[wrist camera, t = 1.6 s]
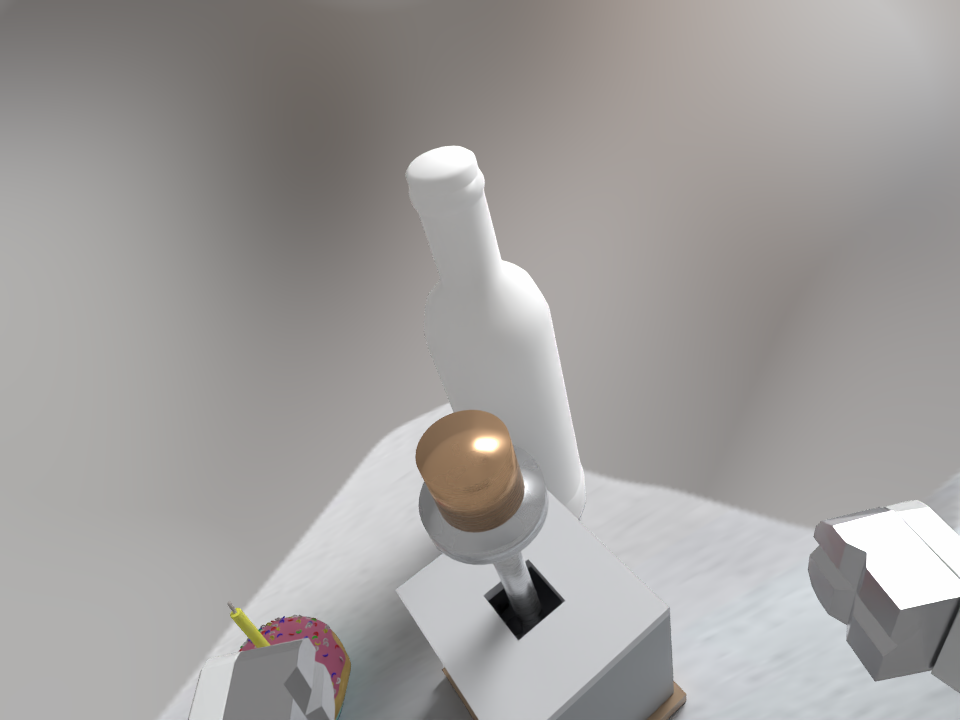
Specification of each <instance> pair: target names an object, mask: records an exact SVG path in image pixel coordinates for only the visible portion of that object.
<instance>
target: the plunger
mask: <svg viewBox="0 0 960 720" xmlns="http://www.w3.org/2000/svg"><path fill="white" fill-rule="evenodd" d="M416 464H417V467H418V469H419V471H420V473H421V475H422V477H423V479H424V481H425V482H424V484H423V486H422V489H421V492H420V497H419V513H420V517H421V520H422V523H423V525H424V527H425V529H426V531H427V532H428V534H429V536H430V538H431V540H432V541H433V543H434V544H435V546H436V547H437V548H438V549H439V550H440V551H441V552H442V553H444V554H445V555H446V556H448V557H450V558H451V559H453V560H456V561H458V562H462V563H466V564H473V565H485V564H494V567H495V569H496V571H497V573H498V576H499V578H500V580H501V583H502V585H503V587H504V589H503V590H501V591H500V592H499V593H498V594H496V595H495V596H494V597H493V598H491V599H490V600H489V601H488V602H489V603H490V605H491V606H492V607H493V609H494V610H495V611H496V612H497V614H498V615H499V616H500V618H501V619H502V620H503V622H504V623H505V624H506V625H507V627H508V628H509V629H510V631H511V632H512V633H513V634H514V636H515V637H516V638H517V640H518V641H519V640H520V639H521V638H522V637H523V636H525V635H526V634H527V633H528V632H529V631H530V630H532V629H533V628H534V627H535V626H536V625H537V624H539V623H540V622H541V621H542V620H543V619H544V618H546V617H547V616H548V615H549V614H550V613H552V612H553V611H554V610H555V609H556V608H557V607H559V606H560V605H561V604H562V603H563V602H562V601H561V600H560V599H559V598H558V596H557V595H556V594H555V593H554V592H553V591H552V590H551V588H550V587H549V586H548V585H547V584H546V583H545V582H544V581H543V579H542V578H541V577H540V576H539V575H538V574H537V573H536V572H535V570H534V569H533V568H532V567H530V568H528V569H527V566H526V563H525V561H524V558H523V555H522V553H521V551H522V550H523V549H525V548H526V547H527V546H528V545H529V544H530V543H531V542H532V541H533V540H534V539H535V538H536V536H537V535H538V533H539V532H540V530H541V529H542V527H543V525H544V523H545V520H546V517H547V513H548V507H549V498H548V492H547V488H546V484H545V481H544V477H543V474H542V471H541V469H540V467H539V465H538V464H537V462H536V461H535V459H534V458H533V457H532V456H531V455H530V454H528V453H527V452H526V451H525V450H523V449H521V448H519V447H517V446H515V445H513V444H512V441H511V438H510V435H509V432H508V429H507V427H506V426H505V424H504V423H503V422H502V421H501V420H500V419H499V418H498V417H497V416H495V415H493V414H491V413H488V412H485V411H481V410H463V411H458V412H455V413H452V414H449V415H447V416H445V417H443V418H441V419H439V420H438V421H436V422H435V423H434V424H432V425H431V426H430V427H429V428H428V429H427V430H426V432H425V433H424V434H423V436H422V437H421V439H420V441H419V443H418V446H417V449H416Z"/></svg>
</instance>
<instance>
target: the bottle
mask: <svg viewBox="0 0 960 720" xmlns="http://www.w3.org/2000/svg"><path fill="white" fill-rule="evenodd" d="M405 176H406V179H407V182H408V185H409V197H410V200H411V203H412V205H413V207H414V208H415V209H416V210H417V211H418V214H419V217H420V220H421V223H422V225H423V228H424V232H425V234H426V237H427V240H428V243H429V246H430V249H431V252H432V255H433V258H434V261H435V264H436V267H437V270H438V272H439V275H440V280H439V281H438V282H437V284H436V285H435V286H434V288H433V289H432V290H431V292H430V293H429V294H428V297H427V301H426V306H425V317H424V335H425V339H426V342H427V346H428V349H429V351H430V354H431V357H432V359H433V362H434V364H435V367H436V369H437V372H438V374H439V377H440V379H441V382H442V384H443V387H444V389H445V392H446V394H447V397H448V399H449V402H450V404H451V407H452V410H453V412H454V413H455V412H458V411H463V410H481V411H485V412H488V413H491V414H493V415H495V416H497V417H498V418H499V419H500V420H501V421H502V422H503V423H504V424H505V426H506V427H507V429H508V432H509V435H510V438H511V441H512V444H513V445H515V446H517V447H519V448H521V449H523V450H525V451H526V452H527V453H528V454H530V455H531V456H532V457H533V458H534V459H535V461H536V462H537V464H538V465H539V467H540V469H541V471H542V474H543V477H544V481H545V484H546V488H547V490H548V491H549V492H550V493H551V494H552V495H553V496H554V497H555V498H556V499H557V500H558V501H560V502H561V503H562V504H563V505H564V506H565V507H566V508H567V509H568V510H569V511H570V512H571V513H572V514H573V515H574V516H575V517H576V518H577V519H579V518H580V517H581V514H582V512H583V509H584V507H585V504H586V489H585V478H584V472H583V468H582V466H581V463H580V459H579V454H578V449H577V444H576V439H575V434H574V429H573V424H572V419H571V414H570V409H569V404H568V399H567V394H566V389H565V384H564V379H563V374H562V369H561V365H560V359H559V354H558V350H557V344H556V339H555V334H554V330H553V324H552V319H551V315H550V310H549V306H548V304H547V302H546V300H545V299H544V297H543V295H542V293H541V292H540V290H539V289H538V287H537V286H536V284H535V282H534V281H533V280H532V278H531V277H530V276H529V274H528V273H527V272H526V271H524V270H523V269H521V268H520V267H518V266H517V265H515V264H512V263H509V262H506V261H503V260H501V256H500V253H499V248H498V245H497V241H496V237H495V233H494V229H493V225H492V221H491V217H490V213H489V209H488V205H487V201H486V197H485V193H484V184H485V181H484V176H483V174H482V173H481V171H480V169H479V168H478V165H477V161H476V157H475V155H474V154H473V152H471V151H470V150H467V149H465V148H463V147H460V146H446V147H440V148H437V149H433V150H431V151H428V152H426V153H423V154H422V155H420V156H419V157H417V158H416V159H415V160H414V161H413V162H412V163H411V164H410V165H409V167H408V169H407V171H406V174H405Z"/></svg>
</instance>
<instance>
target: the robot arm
mask: <svg viewBox="0 0 960 720" xmlns="http://www.w3.org/2000/svg"><path fill="white" fill-rule="evenodd" d="M814 538H815V540H816V541H817V542H818V544H819V546H818V547H817V548H816V549H815V550H814V551H813V553H812V554H811V555H810V557H809V565H808V572H809V576H810V580H811V585H812V587H813V589H814V591H815V594H816V596H817V598H818V600H819V601H820V603H821V604H822V606H823V607H824V609H825V610H826V612H827V613H828V614H829V615H830V616H832V617H834V618H836V619H837V620H839V621H841V622H843V623H844V624H846V625H847V635H846V641H847V642H848V644H849V645H850V646H851V648H852V649H853V651H854V652H855V654H856V655H857V656H858V658H859V659H860V661H861V662H862V664H863V665H864V667H865V668H866V669H867V671H868V672H869V674H870V675H871V677H872V678H873V679H874V681H880V680H885V679H890V678H895V677H900V676H905V675H910V674H915V673H920V672H925V671H930V670H932V672H931V674H932V675H934V676H935V677H937V678H938V679H940V680H941V681H943V682H944V683H945V684H947V685H948V686H950V687H951V688H953V689H954V690H956V691H957V692H959V693H960V537H959V536H958V535H957V534H956V533H955V532H954V531H953V530H952V529H951V528H950V527H949V526H948V525H947V524H946V523H945V522H944V521H943V520H942V519H941V518H940V517H939V516H938V515H937V514H936V513H935V512H933V511H932V510H931V509H930V508H929V507H928V506H927V505H926V504H924V503H922V502H920V501H918V500H912V501H906V502H902V503H898V504H894V505H890V506H886V507H882V508H881V507H877V508H873V509H869V510H865V511H861V512H856V513H852V514H849V515H844V516H840V517H836V518H832V519H828V520H824V521H821V522H820V523H819V524H818V525H817V526H816V528H815V532H814ZM315 652H316V649H315V647H314V646H313V644H312V642H311V641H310V639H309V638H303V639H299V640H294V641H289V642H284V643H280V644H275V645H270V646H266V647H261V648H256V649H251V650H247V651H240V652H236V653H231V654H227V655H222V656H218V657H214V658H209V659H208V660H207V662H206V663H205V665H204V667H203V668H202V670H201V672H200V676H199V680H198V683H197V687H196V691H195V695H194V699H193V702H192V706H191V710H190V714H189V718H188V720H334V719H335V701H334V690H333V685H332V681H331V678H330V674H329V672H328V670H327V668H326V667H325V665H323V664H321V663H319V662H316V661H315Z"/></svg>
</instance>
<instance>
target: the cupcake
mask: <svg viewBox="0 0 960 720" xmlns="http://www.w3.org/2000/svg"><path fill="white" fill-rule="evenodd" d="M228 606H229V607H230V609H231V610H232V612H231V614H230V616H231V618H232V619H233V620H234V621H235V623H236V624H237V625H238V626H239V627H240V628H241V630H242V631H243V632H244V633H245V634H246V635H247V637H248V639H247V642H245V643H244V644H243V646H241V647H240V648H241V649H240V650H239V652H240V651H247V650H251V649H256V648H261V647H266V646H270V645H275V644H280V643H284V642H289V641H294V640H299V639H303V638H309V639H310V641H311V642H312V644H313V646H314V647H315V649H316V652H315V661H316V662H319V663H321V664H323V665H325V667H326V668H327V670H328V672H329V674H330V678H331V681H332V685H333V690H334V701H335V719H334V720H337V719H338V717H339V715H340V713H341V710H342V706H343V701H344V697H345V693H346V689H347V684H348V679H349V675H350V670H351V662H350V659H349V657H348V655H347V653H346V651H345V649H344V647H343V645H342V643H341V641H340V640H339V638H338V637H337V636H336V634H335V633H334V632H333V631H332V630H331V629H330V627H329V626H328V625H327V624H325V623H323V622H321V621H319V620H317V619H316V618H310V617H302V616H301V615H299V616H297V615H294V616H296V617H294V616H292V617H289V618H285V616H284V617H283V618H282V619H280V618H277V619H275V620H276V621H271V622H273V623H267V624H268V625H267V624H266V625H262V626H264V627H262V626H261V627H260V629H259V630H258V629H257V628H256V627H255V626H254V625H253V623H252V622H251V621H250V620H249V619H248V617H247V616H246V615H245V614H244V613H243V611H242V610H241V609H240V608H234V606H233V605H232V603H231V602H228ZM279 619H280V620H279Z"/></svg>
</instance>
